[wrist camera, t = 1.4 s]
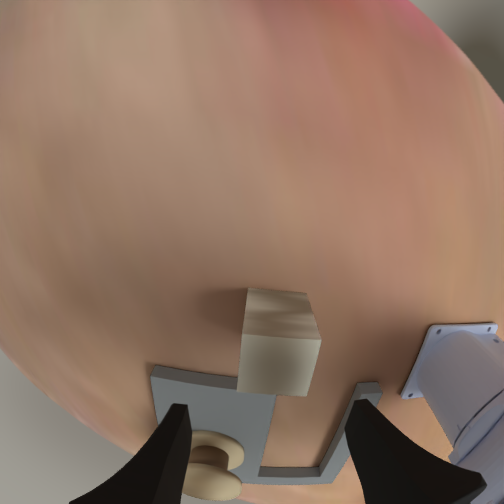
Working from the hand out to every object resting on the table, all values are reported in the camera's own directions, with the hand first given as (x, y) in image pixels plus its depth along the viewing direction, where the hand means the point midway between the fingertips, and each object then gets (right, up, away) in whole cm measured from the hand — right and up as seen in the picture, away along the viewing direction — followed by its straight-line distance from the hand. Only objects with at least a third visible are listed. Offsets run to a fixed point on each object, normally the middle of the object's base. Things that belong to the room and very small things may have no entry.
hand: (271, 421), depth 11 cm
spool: (-5, -12, +12) cm, 17 cm away
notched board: (0, -11, +13) cm, 17 cm away
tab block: (+1, +3, +9) cm, 10 cm away
